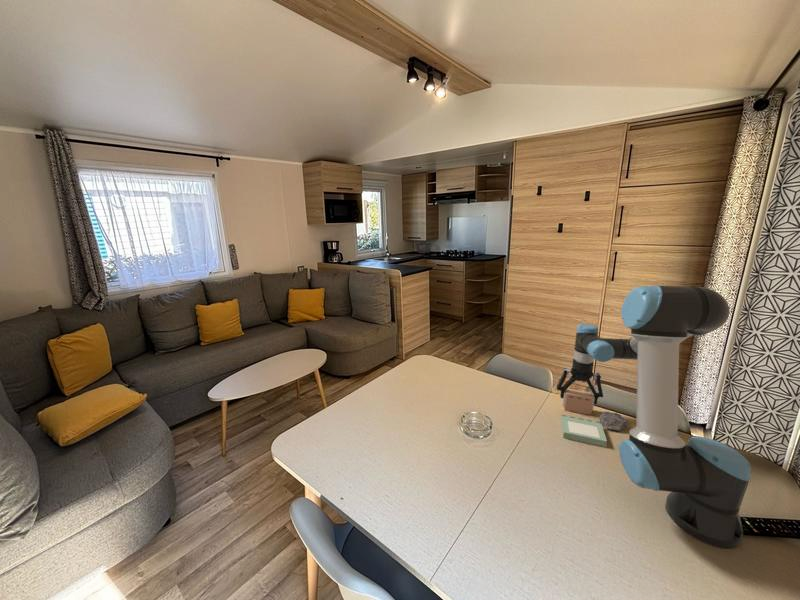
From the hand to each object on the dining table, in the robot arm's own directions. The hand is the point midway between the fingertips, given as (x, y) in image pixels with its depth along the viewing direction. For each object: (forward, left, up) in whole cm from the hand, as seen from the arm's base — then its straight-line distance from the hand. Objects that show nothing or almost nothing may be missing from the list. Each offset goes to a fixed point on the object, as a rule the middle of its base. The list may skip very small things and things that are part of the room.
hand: (577, 407), depth 136 cm
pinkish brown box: (0, 0, -1) cm, 1 cm away
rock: (-6, -12, -2) cm, 14 cm away
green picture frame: (-17, 0, -1) cm, 17 cm away
